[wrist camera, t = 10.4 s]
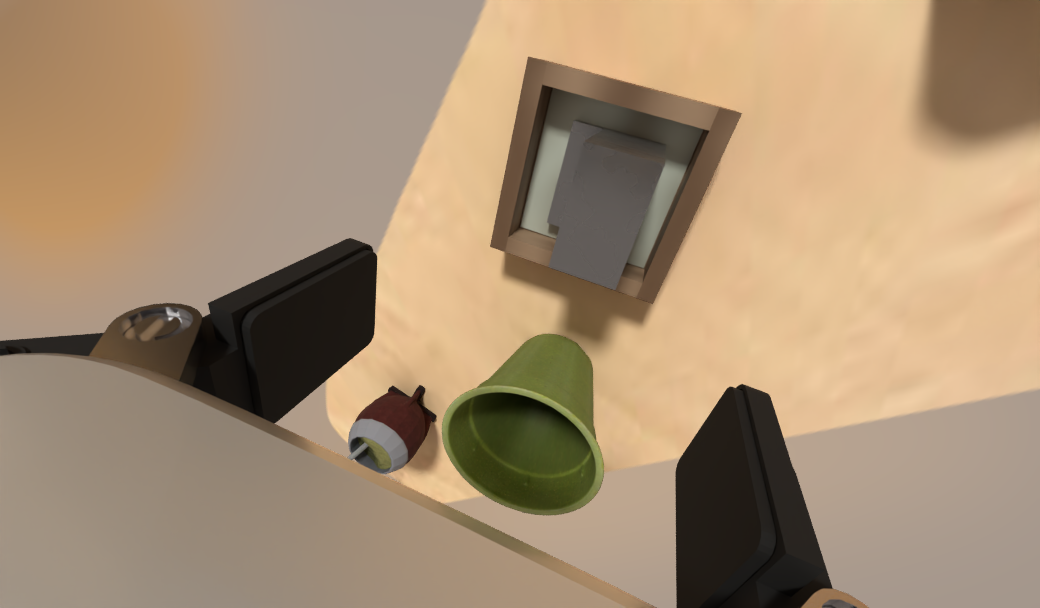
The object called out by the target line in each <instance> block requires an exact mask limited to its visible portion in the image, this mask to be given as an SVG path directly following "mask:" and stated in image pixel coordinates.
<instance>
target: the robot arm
mask: <svg viewBox="0 0 1040 608" xmlns="http://www.w3.org/2000/svg"><path fill="white" fill-rule="evenodd" d="M376 277H377V255H376V254H375V253H374V252H373V249H372V247H371V246H370V245H368V244H365V243H362V242H360V241H357V240H354V239H351V238H349V239H346V240H344V241H341V242H339V243H338V244H335V245H333V246H331V247H328V248H326V249H324V250H322V251H320V252H318V253H316V254H313V255H311V256H309V257H307V258H305V259H303V260H300V261H298V262H296V263H294V264H292V265H290V266H288V267H285V268H283V269H281V270H279V271H277V272H275V273H272V274H270V275H268V276H266V277H264V278H261V279H259V280H257V281H255V282H253V283H251V284H248V285H246V286H245V287H242V288H240V289H238V290H236V291H233V292H231V293H229V294H227V295H225V296H223V297H220V298H218V299H216V300H214V301H212V302H210V303H208V305H209V310H210V314H209V315H207V316H205V317H203V318H202V315H201V314H200V312H199V311H198V310H197V309H195V308H193V307H191V306H187V305H183V304H175V303H163V304H153V305H148V306H144V307H139V308H136V309H134V310H131V311H128V312H126V313H124V314H123V315H121V316H119V317H117V318H116V319H115V320H114V321H113V322H112V323H111V324H110V325H109V326H108V328H107V329H106V331H105V332H104V333H99V334H85V335H72V336H58V337H45V338H33V339H19V340H6V341H0V608H656V607H654V606H652V605H650V604H648V603H646V602H644V601H642V600H640V599H638V598H636V597H634V596H632V595H630V594H628V593H626V592H624V591H622V590H620V589H619V588H616V587H615V586H613V585H611V584H609V583H607V582H605V581H602V580H600V579H598V578H596V577H594V576H592V575H590V574H588V573H586V572H584V571H582V570H580V569H577V568H575V567H573V566H571V565H569V564H567V563H565V562H563V561H561V560H559V559H557V558H555V557H553V556H550V555H548V554H546V553H545V552H542V551H540V550H538V549H536V548H534V547H532V546H530V545H528V544H526V543H524V542H522V541H520V540H518V539H515V538H513V537H511V536H509V535H507V534H505V533H503V532H501V531H499V530H497V529H495V528H493V527H491V526H489V525H487V524H484V523H482V522H480V521H478V520H476V519H474V518H472V517H470V516H468V515H466V514H464V513H461V512H459V511H457V510H455V509H453V508H451V507H449V506H447V505H445V504H443V503H441V502H438V501H436V500H434V499H432V498H430V497H428V496H426V495H424V494H422V493H420V492H418V491H415V490H413V489H411V488H409V487H407V486H405V485H403V484H401V483H399V482H397V481H394V480H392V479H390V478H388V477H386V476H384V475H382V474H380V473H378V472H376V471H373V470H371V469H369V468H367V467H365V466H363V465H361V464H359V463H357V462H354V461H352V460H350V459H348V458H346V457H344V456H342V455H340V454H338V453H335V452H333V451H331V450H329V449H327V448H325V447H323V446H320V445H318V444H316V443H314V442H312V441H310V440H308V439H306V438H303V437H301V436H299V435H297V434H295V433H293V432H290V431H289V430H286V429H284V428H282V427H280V426H278V425H276V424H274V423H276V422H277V421H278V420H280V419H281V418H282V417H283V416H284V415H285V414H287V413H288V412H289V411H290V410H291V409H293V408H294V407H295V406H296V405H297V404H299V403H300V402H301V401H302V400H303V399H304V398H306V397H307V396H308V395H309V394H310V393H312V392H313V391H314V390H315V389H316V388H318V387H319V386H320V385H321V384H322V383H324V382H325V381H326V380H327V379H328V378H329V377H331V376H332V375H333V374H334V373H335V372H337V371H338V370H339V369H340V368H341V367H342V366H344V365H345V364H346V363H347V362H348V361H350V360H351V359H352V358H353V357H354V356H356V355H357V354H358V353H359V352H360V351H361V350H363V349H364V348H365V347H366V346H367V345H368V344H369V343H370V342H371V341H372V338H373V336H374V328H375V303H376ZM676 583H677V584H676V586H677V608H869V607H867V606H866V605H865V604H863V603H862V602H861V601H859V600H857V599H856V598H854V597H852V596H851V595H849V594H847V593H844V592H841V591H839V590H836V589H833V588H832V585H831V582H830V579H829V576H828V573H827V570H826V566H825V563H824V560H823V557H822V554H821V551H820V548H819V544H818V542H817V538H816V535H815V532H814V529H813V526H812V523H811V519H810V516H809V513H808V510H807V507H806V504H805V501H804V498H803V494H802V491H801V488H800V485H799V482H798V479H797V476H796V473H795V471H794V469H793V467H792V464H791V461H790V457H789V454H788V451H787V448H786V445H785V442H784V438H783V435H782V432H781V429H780V426H779V423H778V419H777V416H776V413H775V410H774V407H773V404H772V401H771V397H770V396H769V394H767V393H765V392H762V391H760V390H757V389H754V388H751V387H749V386H746V385H743V384H741V385H739V386H737V388H734V387H729V388H727V390H726V391H725V392H724V394H723V395H722V397H721V398H720V400H719V401H718V403H717V404H716V406H715V407H714V409H713V410H712V412H711V413H710V415H709V416H708V418H707V419H706V421H705V422H704V424H703V425H702V427H701V428H700V430H699V431H698V433H697V434H696V436H695V437H694V439H693V440H692V442H691V443H690V444H689V446H688V447H687V449H686V450H685V452H684V453H683V455H682V456H681V458H680V460H679V462H678V464H677V468H676Z"/></svg>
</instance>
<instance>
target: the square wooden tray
mask: <svg viewBox="0 0 1040 608" xmlns="http://www.w3.org/2000/svg"><path fill="white" fill-rule="evenodd" d="M741 114H742V113H739V112H736V111H733V110H730V109H726V108H722V107H718V106H715V105H711V104H707V103H703V102H700V101H696V100H692V99H688V98H684V97H681V96H677V95H673V94H669V93H666V92H662V91H658V90H654V89H651V88H647V87H643V86H639V85H636V84H632V83H628V82H624V81H620V80H617V79H613V78H609V77H605V76H602V75H598V74H594V73H590V72H587V71H583V70H579V69H575V68H572V67H568V66H564V65H560V64H556V63H553V62H549V61H545V60H541V59H536V58H532V57H528V60H527V65H526V70H525V75H524V80H523V85H522V90H521V95H520V100H519V105H518V110H517V115H516V120H515V125H514V130H513V135H512V140H511V145H510V150H509V155H508V160H507V165H506V170H505V175H504V180H503V185H502V190H501V195H500V200H499V205H498V210H497V215H496V220H495V225H494V230H493V235H492V240H491V245H490V247H492V248H495V249H498V250H501V251H504V252H507V253H509V254H512V255H515V256H518V257H521V258H524V259H527V260H529V261H532V262H535V263H538V264H541V265H544V266H547V267H548V266H549V263H550V259H551V256H552V252H553V249H554V245H555V242H556V238H557V235H558V231H559V228H560V227H558V226H555V225H552V224H549V223H547V219H548V215H549V212H550V208H551V204H552V200H553V196H554V193H555V189H556V185H557V181H558V178H559V174H560V170H561V166H562V162H563V159H564V155H565V151H566V147H567V144H568V140H569V136H570V132H571V128H572V125H573V121H574V120H580V121H583V122H587V123H590V124H594V125H597V126H601V127H605V128H608V129H612V130H615V131H619V132H623V133H626V134H630V135H633V136H637V137H640V138H644V139H648V140H651V141H655V142H658V143H662V144H665V145H666V154H665V166H664V168H663V171H662V173H661V176H660V178H659V181H658V183H657V186H656V188H655V191H654V193H653V196H652V199H651V201H650V204H649V206H648V209H647V211H646V214H645V216H644V219H643V221H642V224H641V226H640V229H639V231H638V234H637V237H636V239H635V242H634V244H633V247H632V249H631V252H630V254H629V257H628V259H627V262H626V264H625V267H624V269H623V272H622V275H621V277H620V280H619V282H618V285H617V287H616V290H615V291H618V292H621V293H623V294H626V295H629V296H632V297H635V298H638V299H640V300H643V301H646V302H649V303H652V304H653V302H654V300H655V298H656V296H657V294H658V292H659V289H660V287H661V285H662V283H663V281H664V279H665V277H666V275H667V272H668V270H669V268H670V266H671V264H672V262H673V260H674V257H675V255H676V253H677V251H678V249H679V247H680V245H681V243H682V240H683V238H684V236H685V234H686V232H687V230H688V228H689V225H690V223H691V221H692V219H693V217H694V215H695V213H696V210H697V208H698V206H699V204H700V202H701V200H702V198H703V196H704V193H705V191H706V189H707V187H708V185H709V183H710V181H711V178H712V176H713V174H714V172H715V170H716V168H717V166H718V164H719V161H720V159H721V157H722V155H723V153H724V151H725V149H726V146H727V144H728V142H729V140H730V138H731V136H732V134H733V132H734V129H735V127H736V125H737V123H738V121H739V119H740V117H741ZM566 274H567V273H566ZM586 281H587V280H586ZM589 282H590V281H589ZM592 283H593V282H592ZM595 284H596V283H595ZM603 287H604V286H603ZM606 288H607V287H606ZM609 289H610V288H609ZM612 290H613V289H612Z"/></svg>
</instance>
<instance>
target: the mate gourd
mask: <svg viewBox="0 0 1040 608" xmlns="http://www.w3.org/2000/svg"><path fill="white" fill-rule="evenodd" d="M424 391H425V388H424V387H423V386H421V385H419V387H418V388H417V389H416V391H415V393H414V394H413V396H412V397H409V396H408V395H406V394H405V393H403V392H402V391H400V390H399V389H397V388H396V387H394V386H392V387H390V388H389V389H388V393H386V394H385V395H383V396H381V397H380V398H378V399H376V400H375V401H374V402H372V403H371V404H370V405H369V406H367V407H366V408H365V409H364V410H363V411H362V412H361V413H360V414H359V416H358V417H357V419H356V421H355V423H353V425H352V428H351V430H350V432H349V439H348V444H349V450H350V452H351V455H349V456H348V457H347V458H348V459H350V460H353V459H355V460H356V461H357V462H358V463H359V464H361V465H363V466H365V467H367V468H369V469H371V470H373V471H376V472H378V473H380V474H387V473H390V472H393V471H396V470H398V469H401V468H402V467H404V465H405V464H406V463H408V462H409V461H410V460H411V459H412V457H413V456H414V455H415V453H416V452H417V450H418V449H419V447H420V446H421V444H422V443H423V441H424V439H425V437H426V436H427V433H428V430H429V427H430V423H431V421H432V422H434V421H435V419H436V415H435V414H434V413H432V412H431V411H430V410H428V409H427V408H425V407H424V406H422V405H421V404H420V403H419V402H418V401H419V399H420V398H421V396H422V394H423V393H424Z"/></svg>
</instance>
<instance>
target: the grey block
mask: <svg viewBox="0 0 1040 608" xmlns="http://www.w3.org/2000/svg"><path fill="white" fill-rule="evenodd" d="M665 154H666V145H665V144H662V143H658V142H655V141H651V140H648V139H644V138H640V137H637V136H633V135H630V134H626V133H623V132H619V131H615V130H612V129H608V128H605V127H601V126H597V125H594V124H590V123H587V122H583V121H580V120H574V121H573V125H572V128H571V132H570V136H569V140H568V144H567V147H566V151H565V155H564V159H563V162H562V166H561V170H560V174H559V178H558V181H557V185H556V189H555V193H554V196H553V200H552V204H551V208H550V212H549V215H548V219H547V223H549V224H552V225H555V226H558V227H560V228H559V231H558V235H557V238H556V242H555V245H554V249H553V252H552V256H551V259H550V263H549V266H548V267H549V268H552V269H555V270H558V271H561V272H564V273H567V274H569V275H572V276H575V277H578V278H581V279H584V280H587V281H590V282H593V283H596V284H598V285H601V286H604V287H607V288H610V289H613V290H616V287H617V285H618V282H619V280H620V277H621V275H622V272H623V269H624V267H625V264H626V262H627V259H628V257H629V254H630V252H631V249H632V247H633V244H634V242H635V239H636V237H637V234H638V231H639V229H640V226H641V224H642V221H643V219H644V216H645V214H646V211H647V209H648V206H649V204H650V201H651V199H652V196H653V193H654V191H655V188H656V186H657V183H658V181H659V178H660V176H661V173H662V171H663V168H664V166H665Z"/></svg>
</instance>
